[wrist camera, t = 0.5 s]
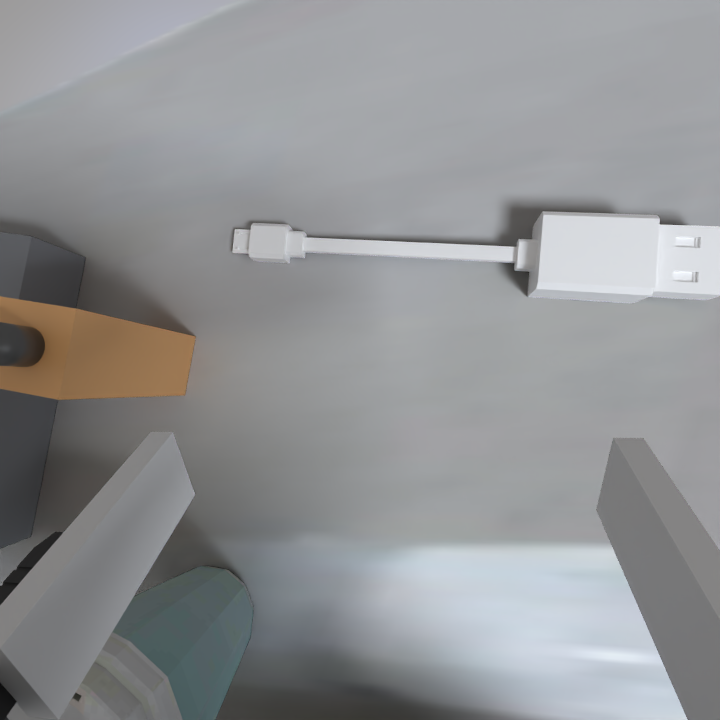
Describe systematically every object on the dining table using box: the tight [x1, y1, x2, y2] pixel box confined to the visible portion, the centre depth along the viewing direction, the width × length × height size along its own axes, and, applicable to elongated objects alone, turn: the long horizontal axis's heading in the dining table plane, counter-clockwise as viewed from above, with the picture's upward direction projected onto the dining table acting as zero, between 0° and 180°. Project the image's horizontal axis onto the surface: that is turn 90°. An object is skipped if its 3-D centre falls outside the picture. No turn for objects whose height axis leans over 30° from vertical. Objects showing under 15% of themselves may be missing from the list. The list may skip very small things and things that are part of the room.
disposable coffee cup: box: [7, 566, 253, 720], centre depth 25 cm, size 11×11×15 cm
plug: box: [0, 296, 196, 400], centre depth 27 cm, size 4×4×14 cm
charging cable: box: [232, 211, 720, 304], centre depth 30 cm, size 5×32×3 cm, turn 84°
